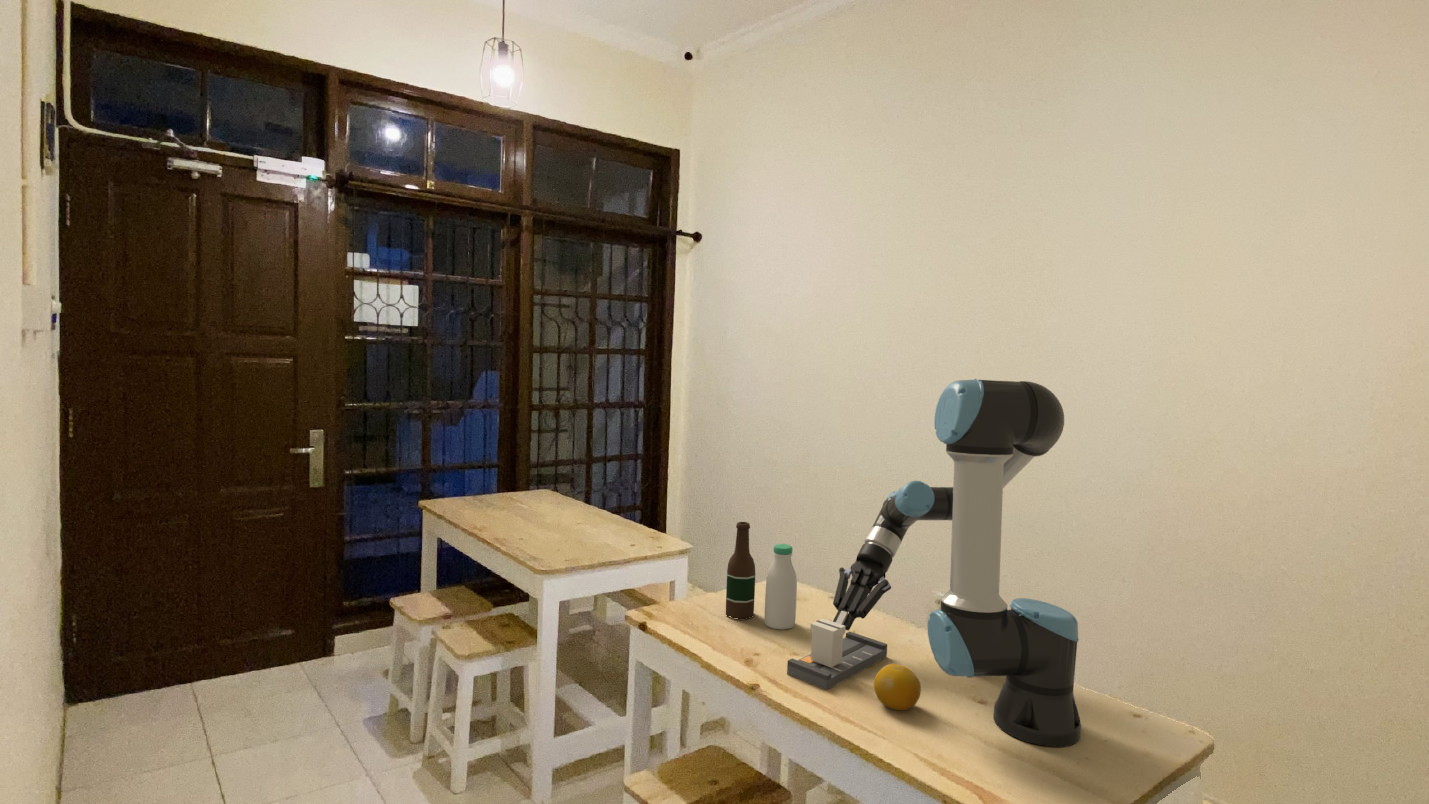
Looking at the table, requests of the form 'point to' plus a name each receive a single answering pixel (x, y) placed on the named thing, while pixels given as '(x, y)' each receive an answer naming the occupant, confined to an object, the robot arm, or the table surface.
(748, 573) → the beer bottle
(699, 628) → the table surface
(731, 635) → the table surface
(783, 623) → the milk bottle
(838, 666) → the slider console
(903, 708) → the fruit
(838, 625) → the fader knob
